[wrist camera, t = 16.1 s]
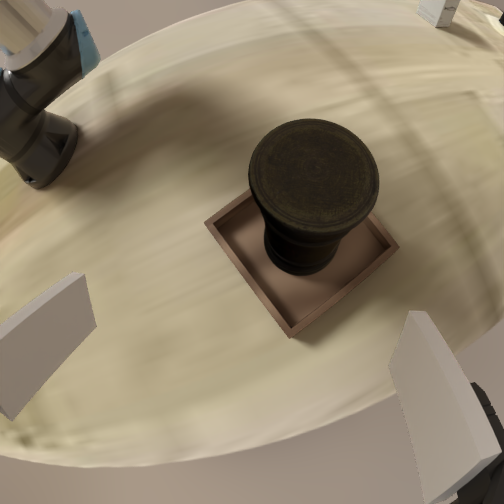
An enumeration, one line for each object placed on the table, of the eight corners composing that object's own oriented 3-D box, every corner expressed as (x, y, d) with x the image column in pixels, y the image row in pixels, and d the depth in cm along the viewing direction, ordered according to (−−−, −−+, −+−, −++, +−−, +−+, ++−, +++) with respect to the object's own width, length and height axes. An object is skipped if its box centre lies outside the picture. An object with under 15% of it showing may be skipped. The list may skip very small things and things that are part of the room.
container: (326, 197, 35) (356, 105, 17) (346, 267, 33) (404, 221, 15) (257, 212, 36) (231, 125, 18) (272, 283, 34) (258, 253, 16)
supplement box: (435, 28, 42) (448, -7, 29) (415, 12, 43) (425, -22, 31) (449, 27, 42) (462, -4, 29) (430, 12, 43) (440, -19, 31)
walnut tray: (209, 229, 37) (203, 222, 34) (309, 157, 37) (311, 146, 34) (288, 336, 33) (289, 339, 30) (391, 252, 33) (399, 247, 31)
